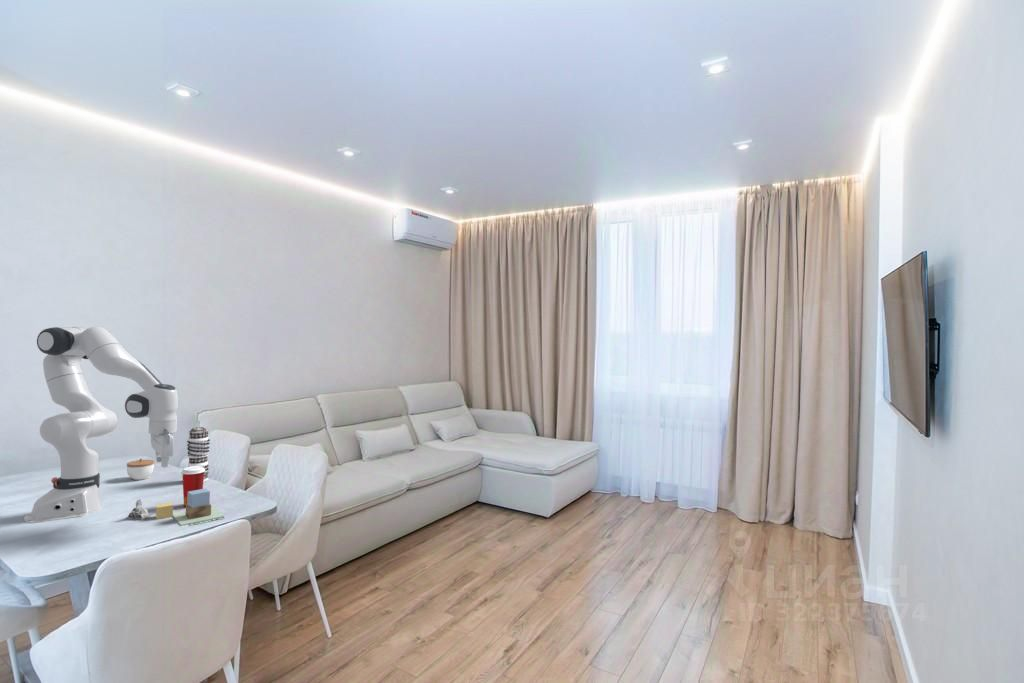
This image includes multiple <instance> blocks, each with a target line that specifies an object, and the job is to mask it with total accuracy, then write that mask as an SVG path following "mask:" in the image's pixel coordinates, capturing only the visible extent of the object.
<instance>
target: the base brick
mask: <svg viewBox="0 0 1024 683" xmlns="http://www.w3.org/2000/svg"><path fill="white" fill-rule="evenodd" d="M211 507H212V504H211V503H210V504H209V505H204V506H199V507H195V508H191V507H189V506H188V505H186V507H185V512H186V516H187V517H188V518H189V519H195V518H200V517H204V516H209V515H211Z"/></svg>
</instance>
